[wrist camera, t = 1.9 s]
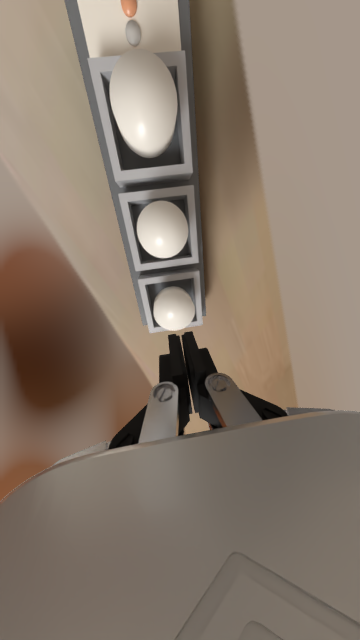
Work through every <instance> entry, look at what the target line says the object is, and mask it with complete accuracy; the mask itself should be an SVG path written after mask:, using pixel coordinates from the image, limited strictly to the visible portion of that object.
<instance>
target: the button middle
mask: <svg viewBox="0 0 360 640" xmlns="http://www.w3.org/2000/svg"><path fill="white" fill-rule="evenodd" d="M137 235H138V238H139V241H140V243H141V245H142V246H143V248H144V249H145V250H146V251H147V252H148V253H149V254H151V255H153V256H155V257H158V258H169V257H172V256H174V255H176V254H178V253H179V252H180V251H181V250H182V249H183V247H184V245H185V243H186V241H187V237H188V224H187V220H186V218H185V216H184V214H183V212H182V211H181V210H180V209H179V208H178V207H177V206H176V205H174V204H173V203H171V202H168V201H155V202H152V203H150V204H149V205H147V206H146V207H145V208H144V209H143V210H142V212H141V213H140V215H139V218H138V222H137Z"/></svg>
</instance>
